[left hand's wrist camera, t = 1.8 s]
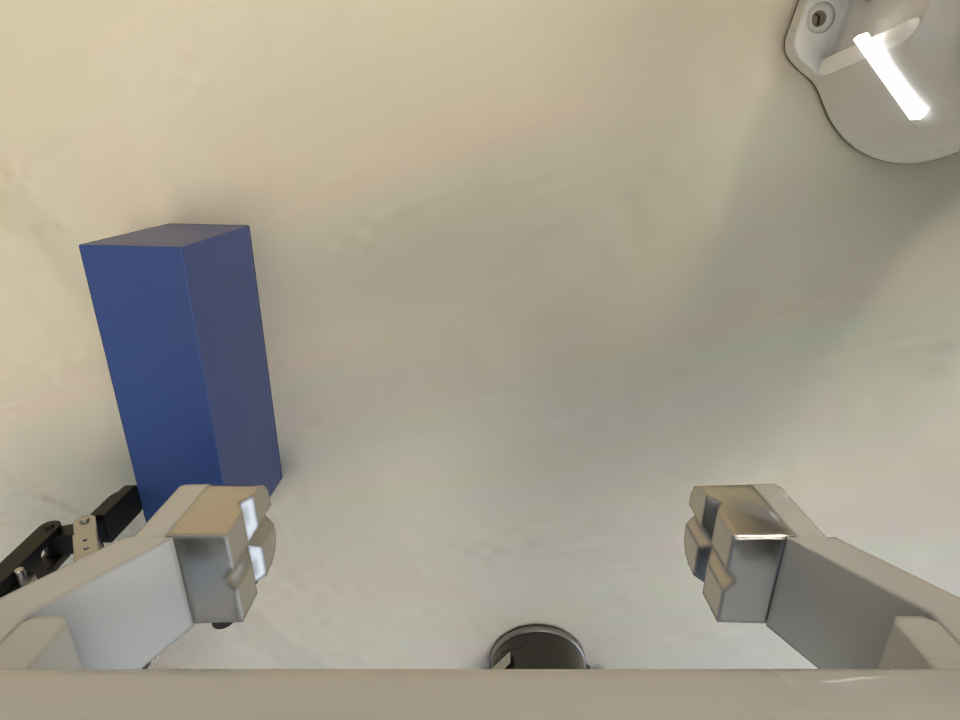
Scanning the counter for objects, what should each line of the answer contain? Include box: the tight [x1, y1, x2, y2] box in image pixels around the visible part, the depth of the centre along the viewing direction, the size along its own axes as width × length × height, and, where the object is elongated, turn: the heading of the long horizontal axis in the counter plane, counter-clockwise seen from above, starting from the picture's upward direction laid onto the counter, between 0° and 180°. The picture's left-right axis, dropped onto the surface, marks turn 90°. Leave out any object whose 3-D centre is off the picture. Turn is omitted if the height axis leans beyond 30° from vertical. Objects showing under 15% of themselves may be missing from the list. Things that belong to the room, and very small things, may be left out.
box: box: [79, 224, 282, 523], centre depth 40 cm, size 22×6×9 cm, turn 179°
